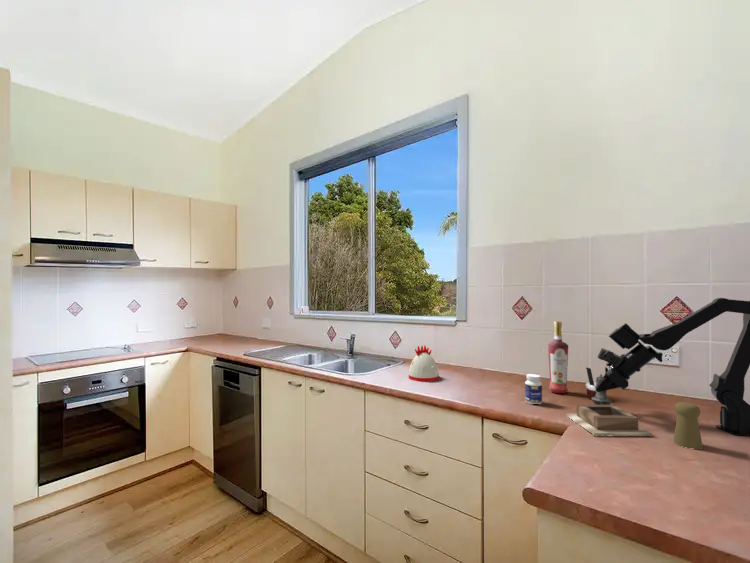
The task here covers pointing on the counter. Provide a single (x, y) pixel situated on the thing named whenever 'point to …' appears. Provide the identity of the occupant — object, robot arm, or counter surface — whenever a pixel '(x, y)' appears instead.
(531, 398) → the pill bottle
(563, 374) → the liquor
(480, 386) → the counter surface
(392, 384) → the counter surface
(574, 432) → the counter surface
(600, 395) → the grey chess piece
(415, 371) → the kitchen timer
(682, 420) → the cork
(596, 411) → the socket block
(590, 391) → the cocoa
